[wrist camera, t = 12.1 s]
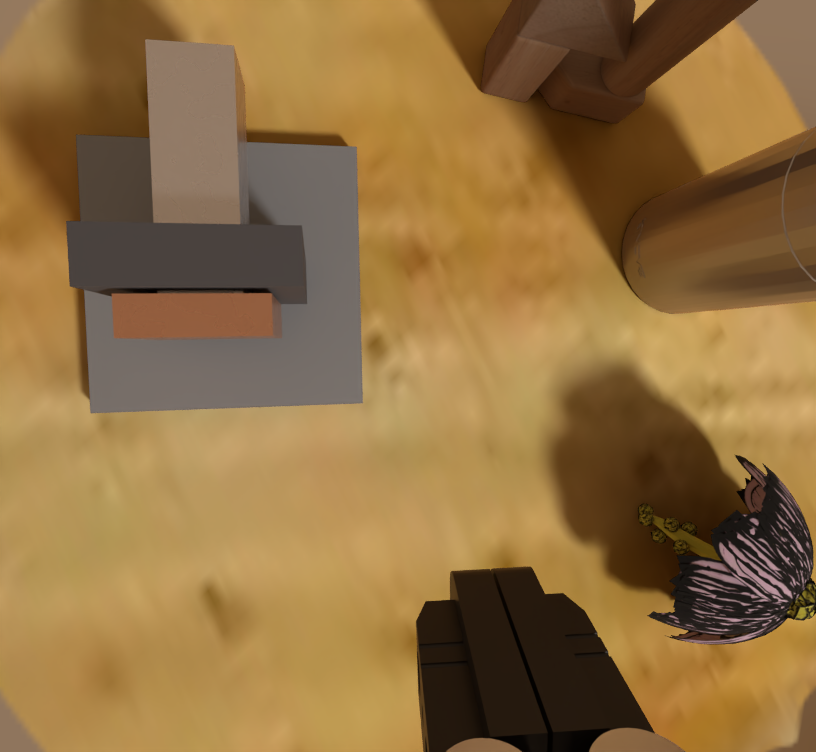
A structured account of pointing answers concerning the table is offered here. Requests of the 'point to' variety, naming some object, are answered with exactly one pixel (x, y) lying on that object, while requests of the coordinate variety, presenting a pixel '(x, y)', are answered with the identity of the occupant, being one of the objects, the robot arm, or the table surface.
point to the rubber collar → (187, 258)
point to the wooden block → (596, 50)
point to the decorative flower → (741, 567)
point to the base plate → (301, 323)
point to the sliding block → (197, 190)
